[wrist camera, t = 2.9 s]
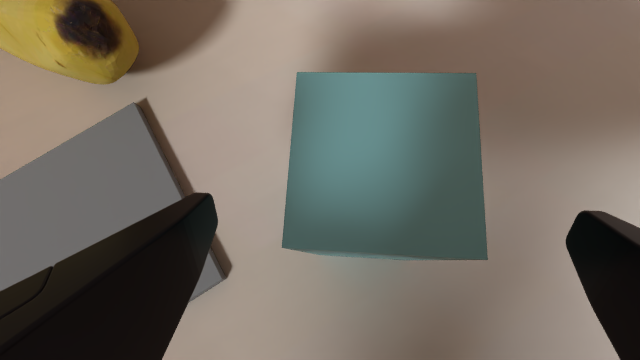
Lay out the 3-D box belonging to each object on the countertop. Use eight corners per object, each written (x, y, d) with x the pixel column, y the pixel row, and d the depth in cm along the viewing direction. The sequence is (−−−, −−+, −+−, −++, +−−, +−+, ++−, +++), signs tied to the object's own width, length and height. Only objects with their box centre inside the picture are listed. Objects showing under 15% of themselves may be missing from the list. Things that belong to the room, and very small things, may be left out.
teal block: (406, 260, 17) (487, 260, 7) (319, 254, 17) (281, 247, 7) (406, 175, 18) (475, 73, 8) (324, 172, 18) (297, 72, 8)
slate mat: (226, 278, 17) (222, 279, 17) (22, 406, 16) (10, 411, 16) (139, 106, 20) (133, 102, 20) (-36, 208, 19) (-48, 207, 19)
